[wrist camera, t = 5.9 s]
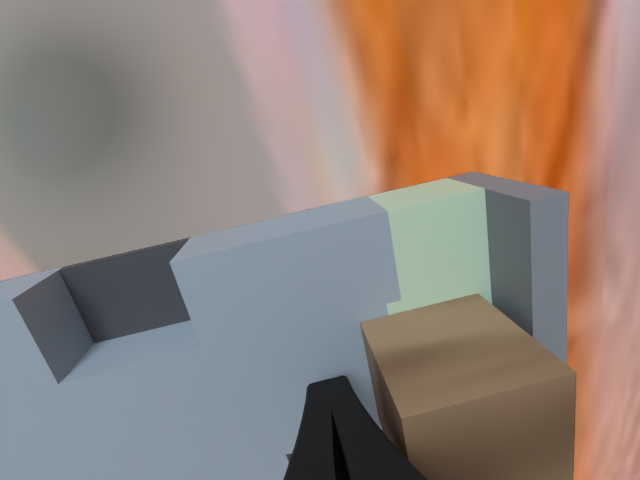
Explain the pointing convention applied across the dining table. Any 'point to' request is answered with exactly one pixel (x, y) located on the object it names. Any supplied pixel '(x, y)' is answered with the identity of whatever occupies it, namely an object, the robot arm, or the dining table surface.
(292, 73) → the dining table surface
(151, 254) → the board
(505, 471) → the walnut cube
